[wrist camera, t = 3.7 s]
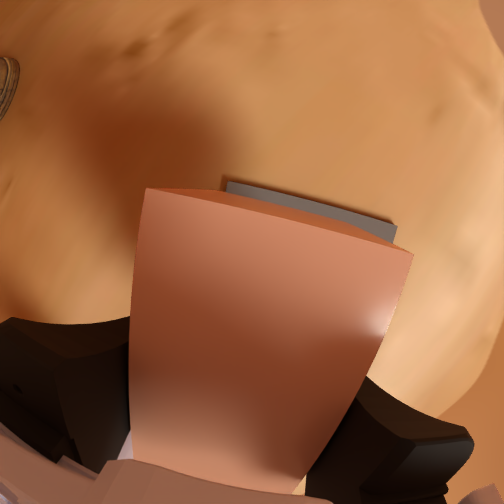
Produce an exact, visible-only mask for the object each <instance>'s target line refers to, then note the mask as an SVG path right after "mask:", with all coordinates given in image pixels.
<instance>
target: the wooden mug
mask: <svg viewBox="0 0 504 504" xmlns="http://www.w3.org/2000/svg"><path fill="white" fill-rule="evenodd" d="M18 78H19V64H18V62H17V61H16V60H14V59H11V58H6V57H0V120H1V118H2V117H3V115H4V114H5V112H6V110H7V108H8V107H9V104H10V102H11V100H12V98H13V95H14V92H15V89H16V86H17V82H18Z"/></svg>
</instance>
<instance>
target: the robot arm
mask: <svg viewBox="0 0 504 504" xmlns="http://www.w3.org/2000/svg"><path fill="white" fill-rule="evenodd" d="M129 330H130V316H128V317H124V318H120V319H116V320H112V321H106V322H100V323H92V324H70V325H66V324H49V323H40V322H34V321H29V320H24V319H19V318H15V317H11V318H9V319H7V320H6V321H4V322H2V323H0V504H447V503H446V500H445V497H444V494H446V493H447V492H448V487H447V485H446V483H447V482H448V481H449V480H450V479H451V478H452V476H454V475H455V474H456V472H457V471H458V470H459V469H460V468H461V467H462V466H463V465H464V464H465V463H466V461H467V460H468V459H469V457H470V455H471V454H472V452H473V449H474V441H473V439H472V437H471V436H470V434H469V433H468V431H467V429H466V428H465V427H463V426H459V425H455V424H452V423H448V422H445V421H441V420H439V419H436V418H433V417H431V416H428V415H426V414H424V413H421V412H419V411H417V410H415V409H413V408H411V407H409V406H408V405H406V404H404V403H402V402H401V401H399V400H397V399H396V398H394V397H393V396H391V395H390V394H388V393H387V392H385V391H384V390H383V389H381V388H380V387H379V386H377V385H376V384H375V383H374V382H373V381H372V380H370V379H369V378H368V377H367V376H366V377H365V379H364V380H363V382H362V384H361V386H360V388H359V390H358V392H357V394H356V396H355V398H354V399H353V401H352V403H351V405H350V407H349V408H348V410H347V412H346V414H345V415H344V417H343V419H342V420H341V422H340V424H339V426H338V427H337V429H336V430H335V432H334V434H333V435H332V437H331V438H330V440H329V442H328V443H327V445H326V446H325V448H324V449H323V451H322V452H321V454H320V455H319V457H318V458H317V460H316V461H315V462H314V464H313V465H312V467H311V468H310V470H309V471H308V472H307V475H306V487H305V496H303V495H292V494H281V493H273V492H265V491H258V490H252V489H246V488H240V487H235V486H230V485H225V484H221V483H216V482H212V481H208V480H204V479H201V478H197V477H193V476H190V475H186V474H183V473H180V472H176V471H173V470H170V469H167V468H164V467H161V466H158V465H154V464H150V463H146V462H142V461H138V460H135V459H133V450H132V439H131V425H130V407H129ZM458 504H504V502H503V500H502V498H501V496H500V494H499V492H498V490H497V488H496V487H495V484H494V483H493V484H489V485H487V486H484V487H481V488H479V489H476V490H474V491H472V492H471V493H469V494H468V495H467V496H465V497H464V498H463V499H462V500H461V501H460V502H459V503H458Z"/></svg>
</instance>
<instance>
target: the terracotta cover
mask: <svg viewBox="0 0 504 504" xmlns="http://www.w3.org/2000/svg"><path fill="white" fill-rule="evenodd" d="M413 256H414V254H412V253H410V252H408V251H406V250H404V249H402V248H400V247H398V246H396V245H394V244H392V243H390V242H388V241H386V240H384V239H382V238H379V237H377V236H375V235H373V234H371V233H369V232H367V231H364V230H362V229H360V228H358V227H356V226H354V225H351V224H349V223H347V222H343V221H340V220H336V219H332V218H329V217H325V216H321V215H317V214H314V213H310V212H306V211H302V210H298V209H294V208H290V207H286V206H282V205H278V204H274V203H270V202H266V201H262V200H257V199H253V198H249V197H244V196H240V195H236V194H231V193H226V192H222V191H217V190H208V189H179V188H146V190H145V196H144V201H143V207H142V213H141V219H140V226H139V233H138V240H137V248H136V256H135V264H134V274H133V284H132V296H131V311H130V330H129V407H130V425H131V439H132V450H133V459H135V460H138V461H142V462H146V463H150V464H154V465H158V466H161V467H164V468H167V469H170V470H173V471H176V472H180V473H183V474H186V475H190V476H193V477H197V478H201V479H204V480H208V481H212V482H216V483H221V484H225V485H230V486H235V487H240V488H246V489H252V490H258V491H265V492H273V493H281V494H291V493H292V492H293V491H294V490H295V488H296V487H297V486H298V484H299V483H300V482H301V480H302V479H303V478H304V476H305V475H306V474H307V472H308V471H309V470H310V468H311V467H312V465H313V464H314V462H315V461H316V460H317V458H318V457H319V455H320V454H321V452H322V451H323V449H324V448H325V446H326V445H327V443H328V442H329V440H330V438H331V437H332V435H333V434H334V432H335V430H336V429H337V427H338V426H339V424H340V422H341V420H342V419H343V417H344V415H345V414H346V412H347V410H348V408H349V407H350V405H351V403H352V401H353V399H354V398H355V396H356V394H357V392H358V390H359V388H360V386H361V384H362V382H363V380H364V379H365V377H366V375H367V373H368V370H369V368H370V366H371V364H372V362H373V360H374V358H375V356H376V354H377V351H378V349H379V347H380V345H381V343H382V340H383V338H384V336H385V333H386V331H387V329H388V326H389V324H390V321H391V319H392V316H393V314H394V311H395V309H396V306H397V303H398V301H399V298H400V295H401V292H402V290H403V287H404V284H405V281H406V278H407V275H408V272H409V269H410V266H411V263H412V259H413Z"/></svg>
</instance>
